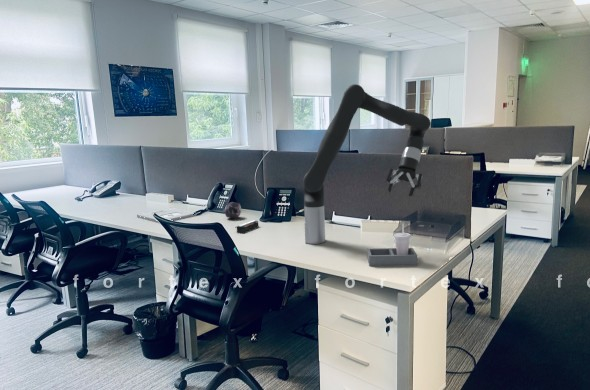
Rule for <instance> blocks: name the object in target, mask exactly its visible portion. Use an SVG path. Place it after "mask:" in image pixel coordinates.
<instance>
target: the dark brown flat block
mask: <svg viewBox="0 0 590 390" xmlns="http://www.w3.org/2000/svg"><path fill="white" fill-rule="evenodd" d="M258 227H259V221H258V220H255V219H254V220H250V221H248V222H245V223H242V224H238V225H237V226H235V227H234V228H235V229H236V233H237V234H244V233H246V232H248V231H251V230H254V229H256V228H258Z"/></svg>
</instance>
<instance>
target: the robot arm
mask: <svg viewBox="0 0 590 390" xmlns="http://www.w3.org/2000/svg"><path fill="white" fill-rule="evenodd" d="M359 109H362V110H365V111H368V112H370V113H373V114H375V115H376V116H378V117H381V118H383V119H384V120H388V121H389V122H391V123H393V124H396V125H398V126H401V127H403V126H409V130H408V136H407V140H406V144H405V148H404V150H403V151H402V155H401V157H400V162H399V165H398V168H397V170H395V169H393V168H390V169H389V171H388V174H387V176H386V182H387V184H389V185H388V190H387V191H388V193H389V194H392V192H393V189H394V186H395V184H398V183H406V184H408V183H410V186H411V187H410V190H409V193H408V197H409V198H412V197H414V194H415V191H416V190H417V189H418V190H420V189H421V187H422V183H423V177H424V176H423V174H422V173H418V174H417V170H418V167H419V163H420V161H421V156H422V155H421V154H422V151H423V147H424V145H425V144H424V143H425V142H424V137H425V135H426V134H425V133H426V132H427V131H429V129H430V127H431V125H432V123H431V120H430V118H429V117H428V116H427V115H425V114H422V113H419V112H414V111H411V110H407V109H404V108H403V107H400V106H398V105H395V104H392V103H389V102H387V101H384V100H380V99H378V98H376V97H374V96H371V95H370V94H368V93H367V92H365V90H364V88H363V87H362V86H361V85H360V84H357V83H356V84H355V83H354V84H350V85H349V86H348V87H346V88H345V90H344V93H343V96H342V98H341V102H340V104H339V106H338V109H337V111H336V113H335V115H334V117H333V118H332V119H331V122H330V123H329V124H328V127H327V129H326V131H325V133H324V135H323V137H322V139H321V141H320V143H319V144H320V145H319V147H318V148H317V149H318V150H317V153H316V156H315V160H314V161H313V163H312V165H311V167H310V168H309V170H308V171H307V172H306V173H305V175H304V176H303V178H302V179H303V181H302V184H303V206H304V207H303V208H304V210H303V211H304V240H305V244H311V245H313V244H314V245H315V244H316V245H319V244H323V243H325V242H326V225H325V224H326V221H325V194H324V192H325V190H324V182H325V179H326V177H327V174H328V172H329V169H330V167H331V165H332V164H333V162H334V161H335V159H336V158H337V156H338V154H339V152H340V150H341V148H342V146H343V144H344V142H345V140H346V138H347V136H348V133H349V130H350V126H351V123H352V120H353V119H354V116H355V114H356V113H357V111H358V110H359ZM395 174H396V175H395ZM394 175H395V176H394ZM393 176H394V177H393ZM414 179H417V181H416V184H415V183H414Z"/></svg>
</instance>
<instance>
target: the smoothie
mask: <svg viewBox="0 0 590 390" xmlns="http://www.w3.org/2000/svg"><path fill="white" fill-rule="evenodd" d="M401 228H402V230H401V231H402V232H396V233H394V234H393V238H394V241H395V248H396V250H397V255H408V248H410V239H411V238H412V236H411V234H410V233H408V232H405V224H404V223H402V227H401Z"/></svg>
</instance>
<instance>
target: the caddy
mask: <svg viewBox="0 0 590 390" xmlns="http://www.w3.org/2000/svg"><path fill="white" fill-rule="evenodd" d="M366 259H367V263H368V266H369V267H390V266H391V267H393V266H394V267H395V266H396V267H397V266H398V267H401V266H403V267H404V266H405V267H407V266H409V267H410V266H418V254H417V252H416V251H415V249H414V248H413V247H409V248H408V255H397V250H396V247H390V248H389V247H384V248H383V247H382V248H380V247H379V248H367V249H366Z"/></svg>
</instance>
